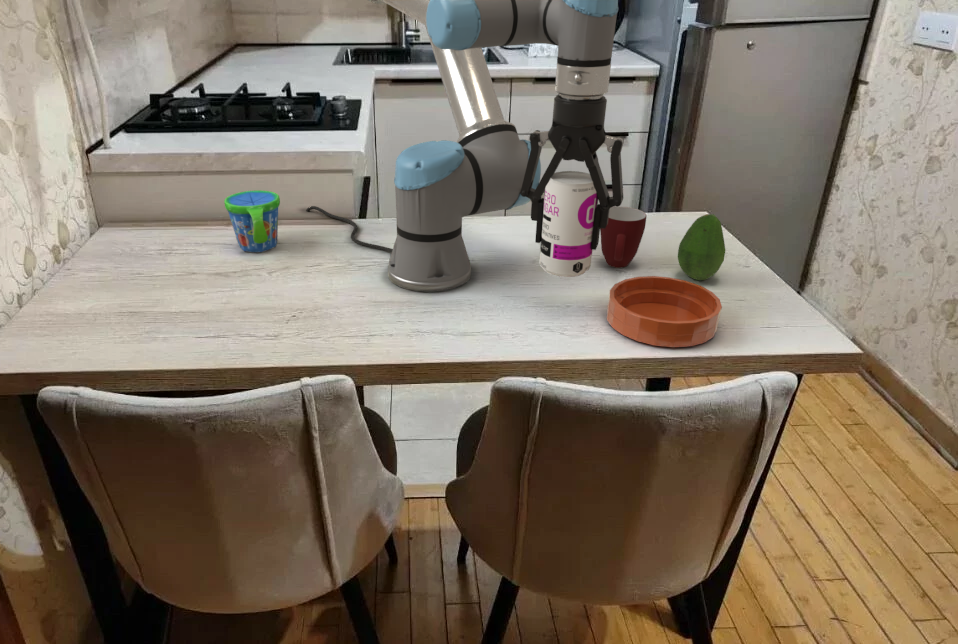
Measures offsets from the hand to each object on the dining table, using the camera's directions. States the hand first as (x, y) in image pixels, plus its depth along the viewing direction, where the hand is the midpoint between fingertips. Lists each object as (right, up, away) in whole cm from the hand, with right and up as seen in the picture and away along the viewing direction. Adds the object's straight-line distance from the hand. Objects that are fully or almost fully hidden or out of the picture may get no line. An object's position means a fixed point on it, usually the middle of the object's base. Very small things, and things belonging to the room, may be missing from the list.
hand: (566, 243), depth 116 cm
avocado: (+27, -4, +17) cm, 32 cm away
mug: (+14, -1, +21) cm, 25 cm away
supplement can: (0, -4, +2) cm, 5 cm away
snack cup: (-57, +4, +30) cm, 64 cm away
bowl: (+15, -13, +1) cm, 20 cm away
